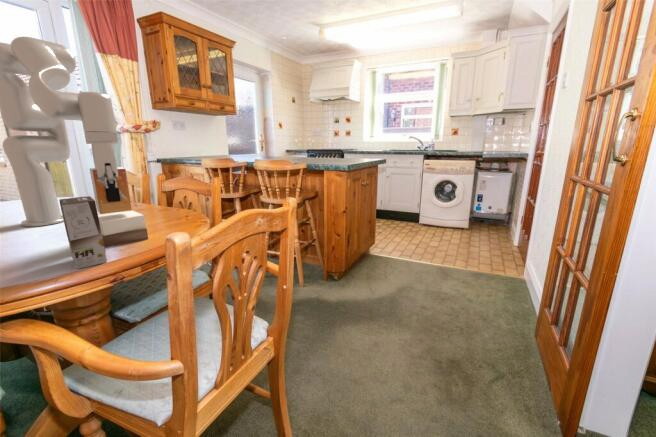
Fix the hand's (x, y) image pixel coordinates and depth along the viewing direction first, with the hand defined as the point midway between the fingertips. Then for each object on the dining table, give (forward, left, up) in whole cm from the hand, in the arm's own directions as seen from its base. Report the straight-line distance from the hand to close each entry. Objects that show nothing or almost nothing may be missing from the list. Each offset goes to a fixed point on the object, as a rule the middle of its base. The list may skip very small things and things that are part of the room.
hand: (113, 199), depth 90 cm
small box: (0, 0, -4) cm, 4 cm away
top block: (0, 0, -9) cm, 9 cm away
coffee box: (+16, -8, -13) cm, 22 cm away
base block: (0, +1, -13) cm, 13 cm away
